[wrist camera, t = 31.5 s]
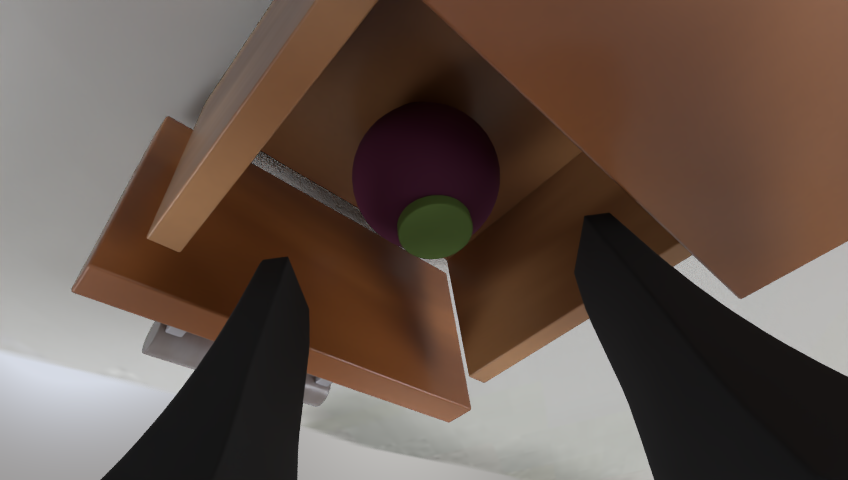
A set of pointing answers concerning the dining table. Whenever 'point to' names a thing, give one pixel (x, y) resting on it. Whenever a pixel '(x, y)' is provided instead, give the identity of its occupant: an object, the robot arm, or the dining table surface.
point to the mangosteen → (426, 178)
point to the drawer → (342, 237)
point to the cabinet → (693, 113)
